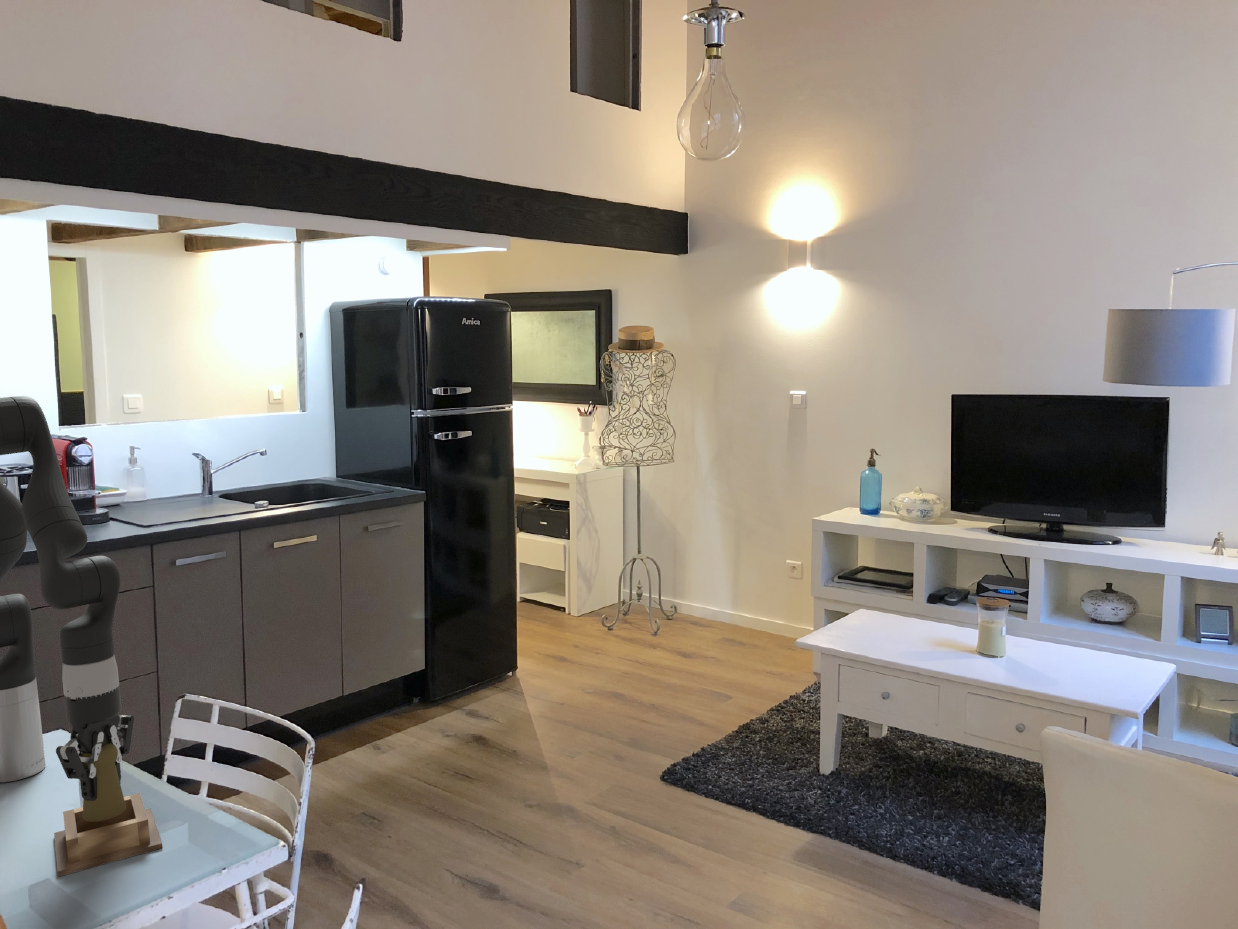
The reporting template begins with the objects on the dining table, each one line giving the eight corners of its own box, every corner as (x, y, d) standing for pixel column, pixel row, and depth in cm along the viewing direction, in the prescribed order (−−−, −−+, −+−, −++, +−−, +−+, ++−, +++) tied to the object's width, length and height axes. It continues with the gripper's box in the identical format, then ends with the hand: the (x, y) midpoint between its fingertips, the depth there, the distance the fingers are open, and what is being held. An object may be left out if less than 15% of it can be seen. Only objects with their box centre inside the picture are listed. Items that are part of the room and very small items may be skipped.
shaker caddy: (58, 877, 140) (54, 848, 140) (54, 837, 152) (51, 810, 152) (162, 848, 148) (159, 820, 147) (151, 812, 160) (149, 787, 159)
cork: (81, 825, 145) (74, 756, 144) (83, 809, 151) (76, 742, 149) (126, 815, 148) (119, 747, 147) (126, 799, 153) (119, 734, 152)
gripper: (105, 670, 155) (115, 771, 157) (33, 702, 141) (45, 812, 143) (145, 672, 153) (154, 774, 155) (76, 705, 139) (88, 816, 141)
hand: (102, 792), depth 149 cm, fingers closed on cork, 4 cm apart
